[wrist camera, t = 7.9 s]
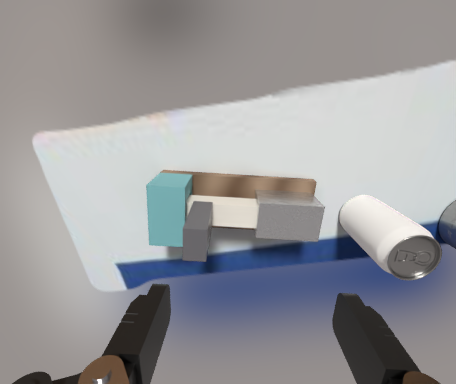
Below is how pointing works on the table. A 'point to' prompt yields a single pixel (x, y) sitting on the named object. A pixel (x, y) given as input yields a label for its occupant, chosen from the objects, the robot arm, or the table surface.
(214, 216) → the sliding bolt
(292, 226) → the grey speckled block
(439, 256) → the can
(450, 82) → the table surface
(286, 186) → the board
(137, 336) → the robot arm
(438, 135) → the table surface
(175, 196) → the socket
